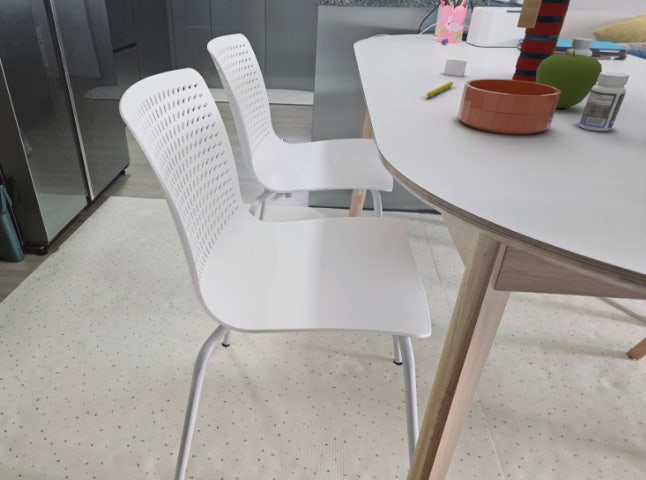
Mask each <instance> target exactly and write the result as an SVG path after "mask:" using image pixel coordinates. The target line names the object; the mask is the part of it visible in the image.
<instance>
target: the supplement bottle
mask: <svg viewBox="0 0 646 480" xmlns="http://www.w3.org/2000/svg"><path fill="white" fill-rule="evenodd" d="M593 43H594V39H593V38H585V37H574V38H573V39H572V42H571V48H568V49H567V50H566V51H565V53H564V54H573V51H575V55H584V56H589V57H593V51H592V50H591V48H592V46H593Z"/></svg>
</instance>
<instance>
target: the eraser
mask: <svg viewBox="0 0 646 480" xmlns="http://www.w3.org/2000/svg"><path fill="white" fill-rule="evenodd" d="M445 60H446V61H445V65H444V69H443V70H444V71H443V75H445V76H457V77H464V76H465V72H466V71H465V70H466V68H467V67H466V66H467V63H468V60H467V59H460V58H459V59H458V58H446V59H445Z"/></svg>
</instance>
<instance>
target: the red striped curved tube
mask: <svg viewBox="0 0 646 480" xmlns="http://www.w3.org/2000/svg"><path fill="white" fill-rule="evenodd" d="M570 2H571V0H542V1H541V4H540V8H539V12H538V15H537V19H536V23H535V26H534V28H525V30H524V38H523V39H522V42H521V45H520V49H519V52H520V53H519V55H518V57H517V59H516V63H515V67H514V68H515V70H514V71H515V72H514V73H513V75H512V79H511V80H521V81H529V82H536V74H537V68H538V67H539V65H540V64H541V62H542V61H543V60H544V59H546V58H548V57H549V56H551V55H555V51H556V49H557V45H558V42H559V37H560V34H561V31H562V30H563V27H564V23H565V20H566V17H567V13H568V10H569V7H570Z"/></svg>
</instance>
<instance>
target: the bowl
mask: <svg viewBox="0 0 646 480" xmlns="http://www.w3.org/2000/svg"><path fill="white" fill-rule="evenodd" d="M560 94H561V90H560V89H558V88H556V87H553V86H550V85H546V84H541V83H536V82H529V81H521V80H512V79H510V78H509V79H508V78H478V79H471V80H467V81H466V82H465V83H464V88H463V91H462V95H461V101H460V105H459V109H458V113H457V118H458V119H459V120H460V121H461V122H463V123H464V124H465V125H466V126H469V127H471V128H474V129H477V130H480V131H484V132H490V133H496V134H504V135H531V134H532V135H533V134H537V133H539V132H544V131H546V130H548V129H550V127H551V124H552V122H553V118H554V115H555V112H556V110H557V108H556V106H557V103H558V100H559V97H560Z"/></svg>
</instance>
